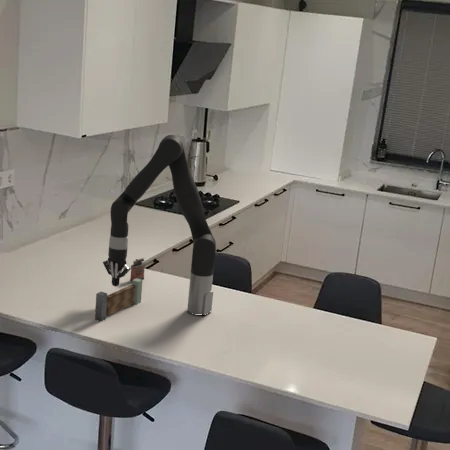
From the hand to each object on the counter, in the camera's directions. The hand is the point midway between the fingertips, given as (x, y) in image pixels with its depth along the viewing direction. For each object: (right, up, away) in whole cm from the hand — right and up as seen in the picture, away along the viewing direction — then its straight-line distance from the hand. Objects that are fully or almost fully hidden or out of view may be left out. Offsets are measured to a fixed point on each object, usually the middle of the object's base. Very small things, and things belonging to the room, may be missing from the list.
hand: (115, 285), depth 287 cm
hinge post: (-3, -12, -15) cm, 20 cm away
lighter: (+5, 0, +30) cm, 31 cm away
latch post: (+8, -8, +5) cm, 12 cm away
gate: (+3, -9, -4) cm, 11 cm away
